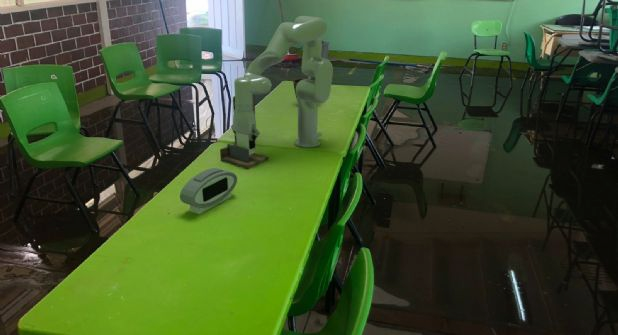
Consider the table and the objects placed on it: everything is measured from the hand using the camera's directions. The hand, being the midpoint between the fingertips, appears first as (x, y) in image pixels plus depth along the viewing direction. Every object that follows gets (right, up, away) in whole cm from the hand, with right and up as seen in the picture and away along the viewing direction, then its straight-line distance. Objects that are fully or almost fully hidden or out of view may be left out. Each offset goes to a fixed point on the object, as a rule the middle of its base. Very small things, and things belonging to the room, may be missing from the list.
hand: (245, 146), depth 210 cm
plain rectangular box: (0, -3, +1) cm, 3 cm away
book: (-3, +2, +24) cm, 24 cm away
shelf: (-1, -6, +3) cm, 7 cm away
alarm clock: (-8, -23, -37) cm, 44 cm away
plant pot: (+25, +29, +90) cm, 98 cm away
